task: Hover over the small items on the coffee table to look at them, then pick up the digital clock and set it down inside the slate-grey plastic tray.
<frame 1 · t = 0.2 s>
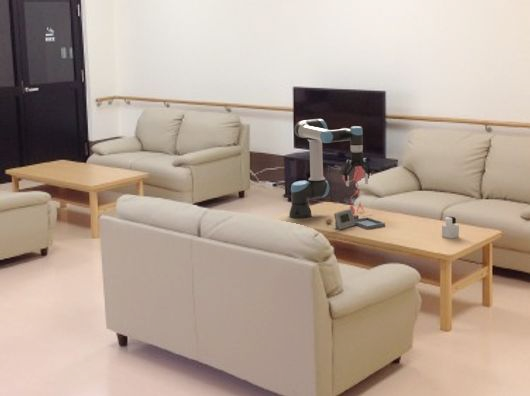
hand: (357, 185, 494), 27 cm above the table, tool pointing down, fingers open, 13 cm apart
tray: (367, 224, 504), on the table
medicine bottle: (450, 237, 468), on the table
digital clock: (344, 227, 500), on the table
figurine: (360, 214, 534), on the table
walnut cube: (354, 221, 515), on the table
terracotta ball: (329, 223, 511), on the table
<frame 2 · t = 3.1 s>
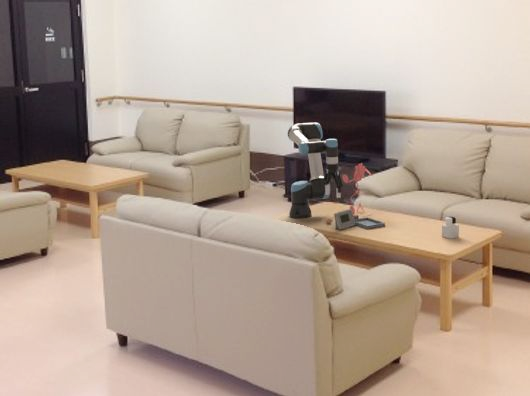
hand: (333, 196, 503), 19 cm above the table, tool pointing down, fingers open, 13 cm apart
nothing on the table moved.
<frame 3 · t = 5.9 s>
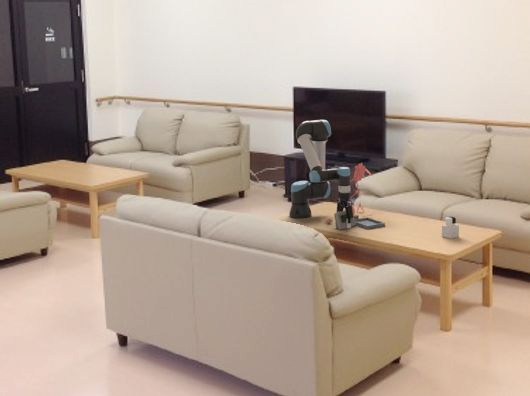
hand: (344, 226, 500), 0 cm above the table, tool pointing down, fingers closed on digital clock, 8 cm apart
digital clock: (345, 227, 499), on the table, touching gripper
everything else where it was.
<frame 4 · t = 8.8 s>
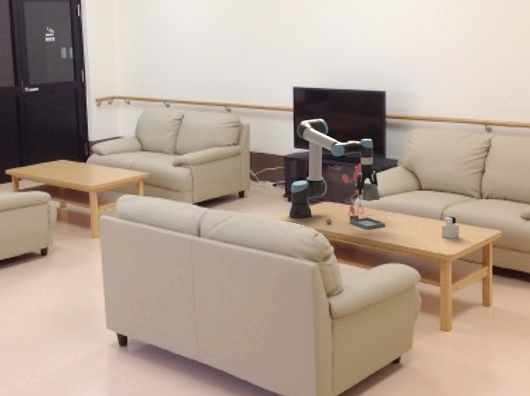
hand: (367, 198, 501), 17 cm above the table, tool pointing down, fingers closed on digital clock, 8 cm apart
digital clock: (368, 199, 501), point 16 cm above the table, touching gripper
everything else where it was.
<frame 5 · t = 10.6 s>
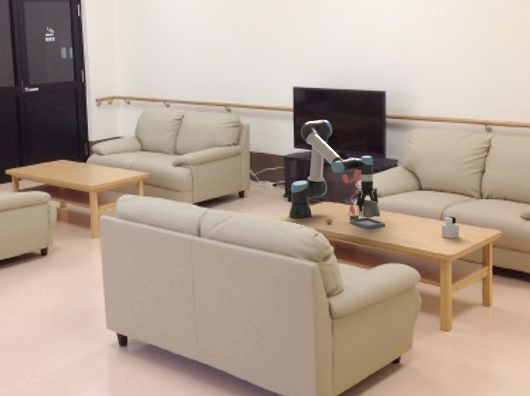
hand: (367, 215, 503), 6 cm above the table, tool pointing down, fingers closed on digital clock, 8 cm apart
digital clock: (368, 216, 503), point 6 cm above the table, touching gripper
everything else where it was.
when the fingers open (2 cm above the table, at t = 11.8 s): digital clock drops 1 cm, resting on tray.
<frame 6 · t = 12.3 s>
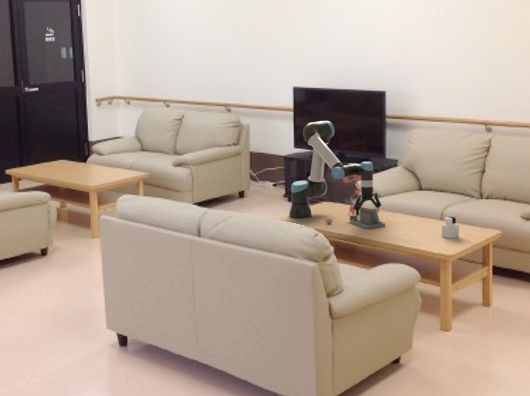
hand: (367, 218, 504), 4 cm above the table, tool pointing down, fingers open, 13 cm apart
digital clock: (368, 223, 504), resting on tray
everything else where it was.
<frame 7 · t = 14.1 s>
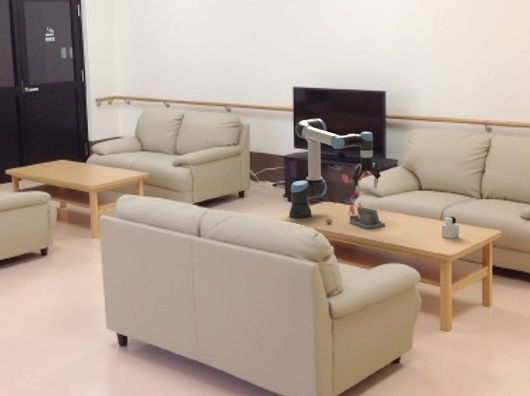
hand: (366, 189, 502), 23 cm above the table, tool pointing down, fingers open, 13 cm apart
nothing on the table moved.
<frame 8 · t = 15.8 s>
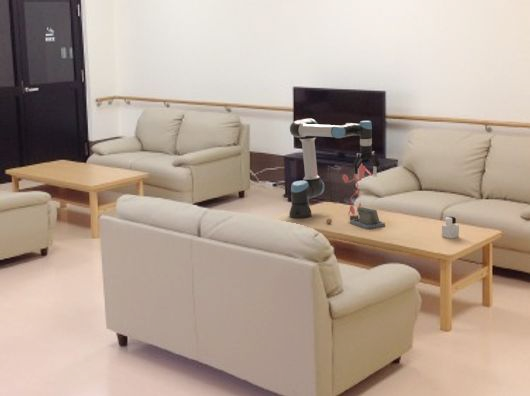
hand: (366, 177, 509), 29 cm above the table, tool pointing down, fingers open, 13 cm apart
nothing on the table moved.
at the end: digital clock inside the target area on the tray (0.7 cm from its centre), point 0.4 cm above the tray's base; digital clock tilted 0°; the gripper is holding nothing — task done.
